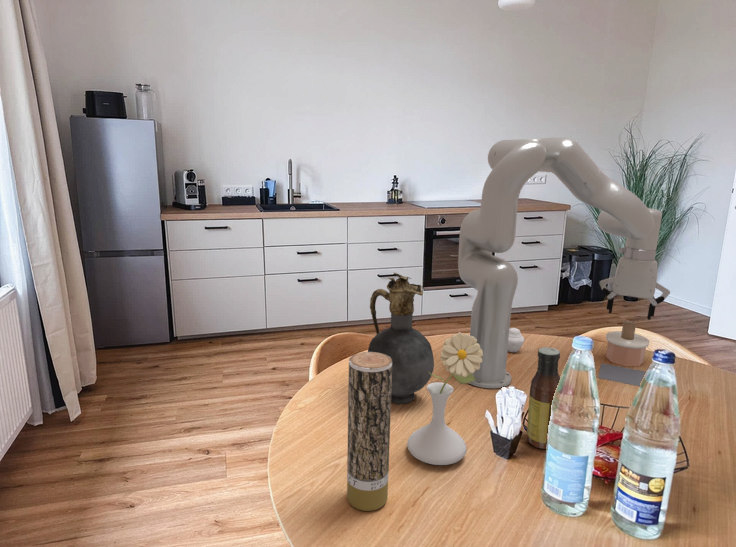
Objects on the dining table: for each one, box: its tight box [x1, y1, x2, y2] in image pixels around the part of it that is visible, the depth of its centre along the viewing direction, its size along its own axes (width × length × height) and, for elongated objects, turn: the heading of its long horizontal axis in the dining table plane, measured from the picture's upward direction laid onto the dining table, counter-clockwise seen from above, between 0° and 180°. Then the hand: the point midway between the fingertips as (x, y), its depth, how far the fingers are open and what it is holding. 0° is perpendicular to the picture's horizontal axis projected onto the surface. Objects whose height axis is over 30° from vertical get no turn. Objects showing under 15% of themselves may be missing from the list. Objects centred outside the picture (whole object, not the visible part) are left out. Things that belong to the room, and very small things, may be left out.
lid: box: [605, 320, 650, 349], centre depth 147 cm, size 11×11×6 cm
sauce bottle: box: [526, 346, 561, 450], centre depth 104 cm, size 6×6×20 cm
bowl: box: [605, 341, 647, 367], centre depth 148 cm, size 9×9×6 cm
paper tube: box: [346, 351, 392, 512], centre depth 85 cm, size 7×7×25 cm
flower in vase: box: [406, 332, 483, 466], centre depth 99 cm, size 13×11×25 cm
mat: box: [597, 362, 647, 387], centre depth 139 cm, size 11×11×1 cm
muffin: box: [507, 327, 525, 353], centre depth 154 cm, size 6×6×7 cm
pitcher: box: [367, 271, 435, 405], centre depth 123 cm, size 11×19×30 cm, turn 37°
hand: (629, 315), depth 145 cm, fingers open, 9 cm apart
